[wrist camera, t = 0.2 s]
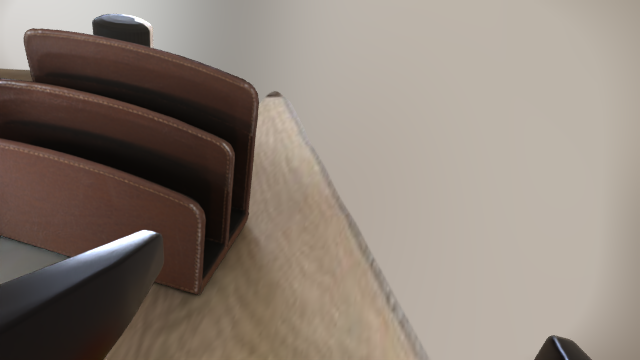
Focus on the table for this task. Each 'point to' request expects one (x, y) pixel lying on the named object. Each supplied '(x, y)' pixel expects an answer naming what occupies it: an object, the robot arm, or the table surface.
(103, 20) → the medicine bottle
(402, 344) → the table surface
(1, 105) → the letter holder
